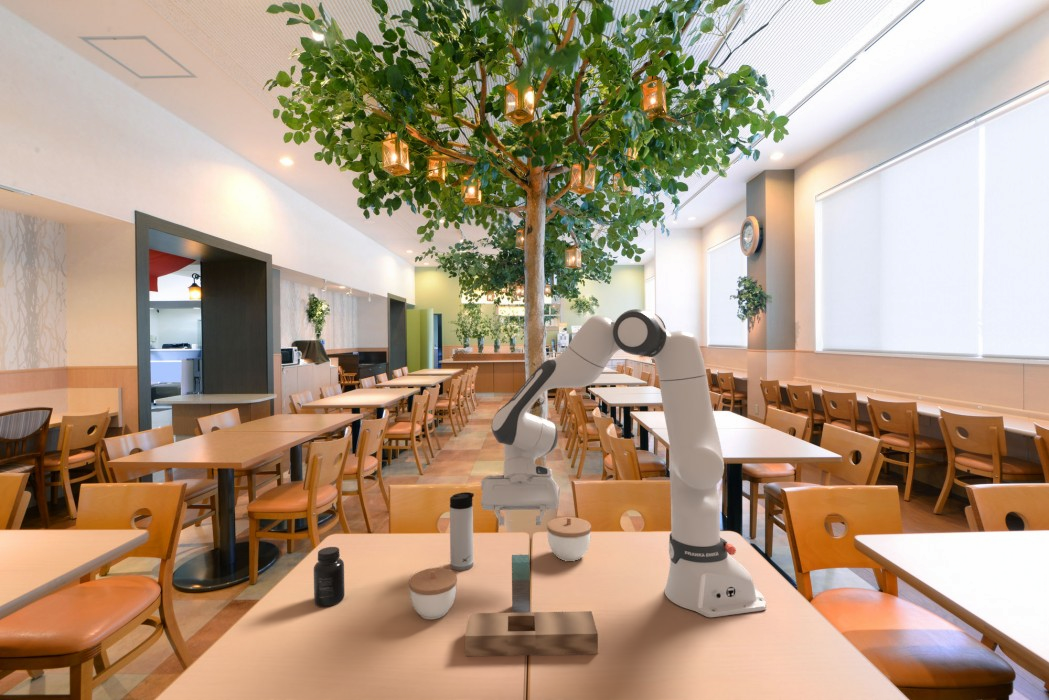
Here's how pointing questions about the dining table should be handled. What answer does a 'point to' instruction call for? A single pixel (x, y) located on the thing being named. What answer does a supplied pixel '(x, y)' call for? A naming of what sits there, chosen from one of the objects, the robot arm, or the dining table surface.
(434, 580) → the lidded jar
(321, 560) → the supplement bottle
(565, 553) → the lidded bowl
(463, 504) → the travel mug
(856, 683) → the dining table surface
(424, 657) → the dining table surface
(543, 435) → the robot arm
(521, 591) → the teal square peg
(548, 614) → the wooden peg hole block
